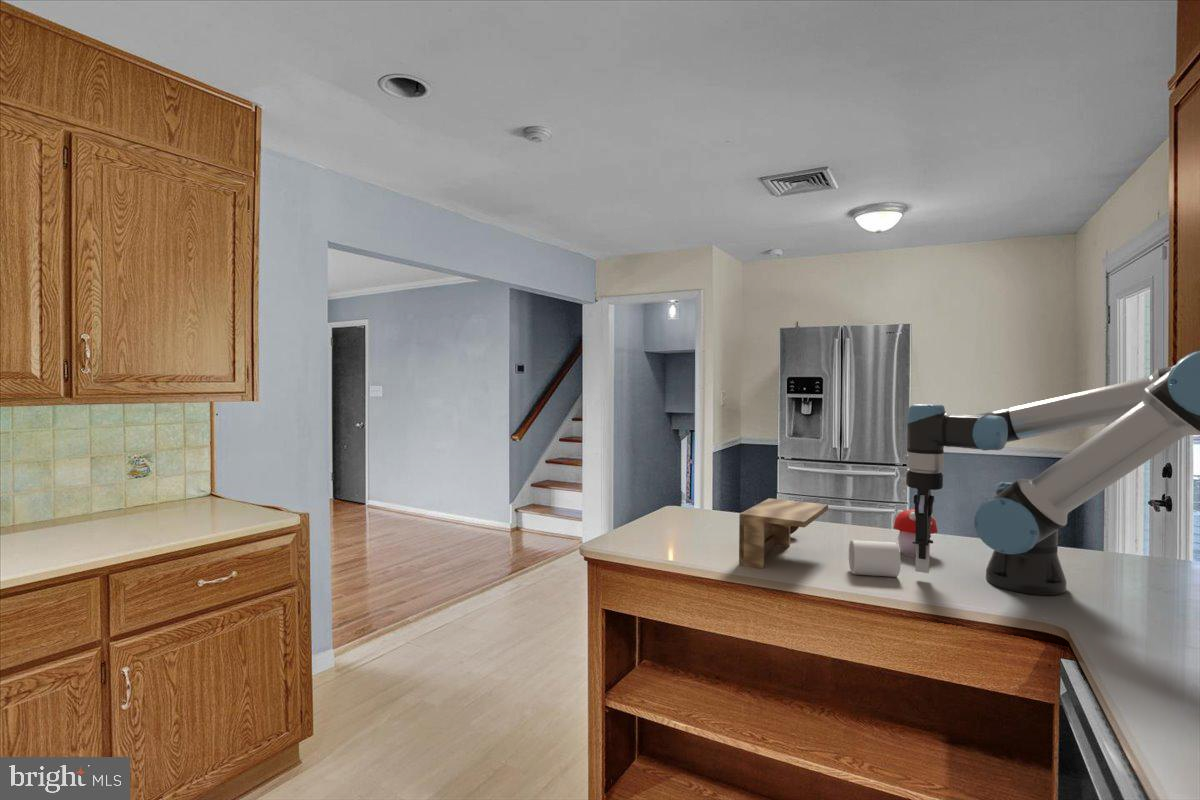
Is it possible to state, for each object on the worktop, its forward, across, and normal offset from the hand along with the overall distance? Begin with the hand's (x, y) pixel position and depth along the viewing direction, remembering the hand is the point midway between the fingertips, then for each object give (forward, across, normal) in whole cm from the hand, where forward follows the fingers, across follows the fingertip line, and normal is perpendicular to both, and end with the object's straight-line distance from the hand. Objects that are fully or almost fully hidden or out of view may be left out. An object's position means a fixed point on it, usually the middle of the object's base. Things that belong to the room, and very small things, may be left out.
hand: (922, 571), depth 145 cm
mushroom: (+2, -24, -4) cm, 24 cm away
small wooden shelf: (+2, 0, -32) cm, 32 cm away
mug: (+2, 0, -11) cm, 11 cm away
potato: (+2, -22, -39) cm, 45 cm away
